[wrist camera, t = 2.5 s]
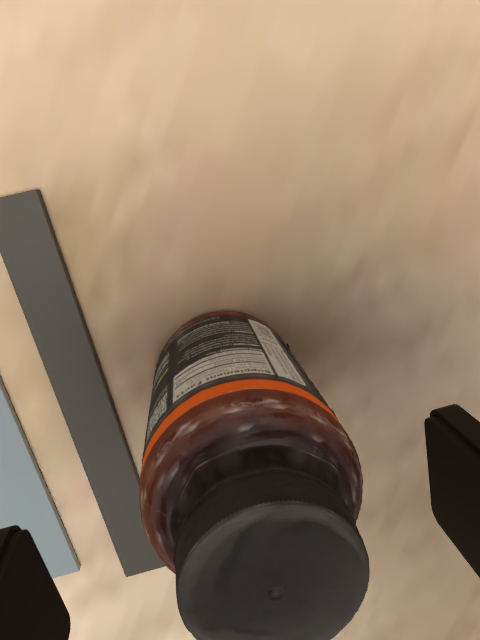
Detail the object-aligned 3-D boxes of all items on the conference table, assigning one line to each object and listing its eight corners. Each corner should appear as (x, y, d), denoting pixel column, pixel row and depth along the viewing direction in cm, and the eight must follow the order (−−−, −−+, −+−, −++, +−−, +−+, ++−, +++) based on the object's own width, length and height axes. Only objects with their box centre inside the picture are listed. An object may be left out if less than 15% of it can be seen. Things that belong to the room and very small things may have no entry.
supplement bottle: (288, 427, 21) (403, 685, 10) (159, 436, 20) (134, 724, 9) (291, 303, 19) (435, 454, 8) (151, 309, 18) (108, 481, 8)
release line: (39, 189, 17) (35, 189, 16) (166, 559, 22) (166, 565, 22) (-15, 201, 16) (-20, 202, 16) (127, 570, 22) (126, 576, 22)
